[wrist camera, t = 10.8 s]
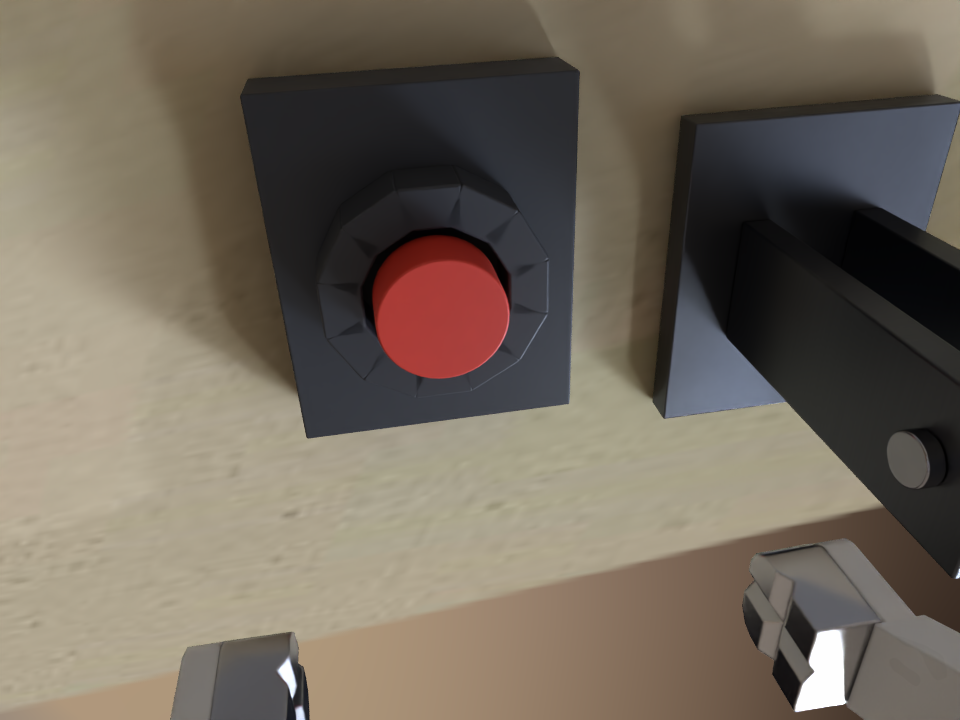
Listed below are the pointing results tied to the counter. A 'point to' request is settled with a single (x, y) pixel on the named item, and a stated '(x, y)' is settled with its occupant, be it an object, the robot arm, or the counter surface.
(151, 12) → the counter surface
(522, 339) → the control block
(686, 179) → the bracket
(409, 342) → the button
